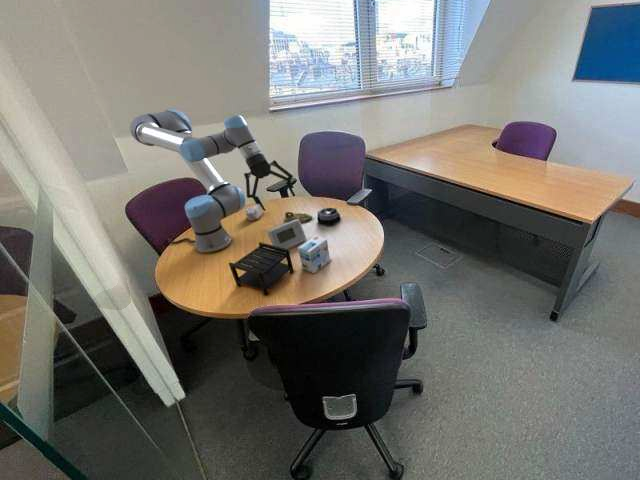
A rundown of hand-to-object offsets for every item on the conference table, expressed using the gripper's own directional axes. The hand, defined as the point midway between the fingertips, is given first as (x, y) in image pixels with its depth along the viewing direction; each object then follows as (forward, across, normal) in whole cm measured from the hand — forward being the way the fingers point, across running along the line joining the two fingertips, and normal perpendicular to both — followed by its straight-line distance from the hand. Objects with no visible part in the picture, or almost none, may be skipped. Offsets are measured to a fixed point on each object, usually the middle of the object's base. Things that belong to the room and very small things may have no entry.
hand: (279, 203), depth 131 cm
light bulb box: (+29, 0, -10) cm, 31 cm away
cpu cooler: (+21, +19, +23) cm, 37 cm away
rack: (+24, -20, -10) cm, 32 cm away
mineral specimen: (+4, -12, +47) cm, 49 cm away
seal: (+14, +7, +33) cm, 36 cm away
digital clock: (+20, -5, +10) cm, 23 cm away
